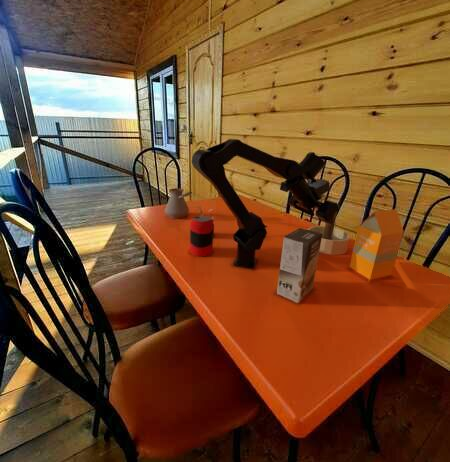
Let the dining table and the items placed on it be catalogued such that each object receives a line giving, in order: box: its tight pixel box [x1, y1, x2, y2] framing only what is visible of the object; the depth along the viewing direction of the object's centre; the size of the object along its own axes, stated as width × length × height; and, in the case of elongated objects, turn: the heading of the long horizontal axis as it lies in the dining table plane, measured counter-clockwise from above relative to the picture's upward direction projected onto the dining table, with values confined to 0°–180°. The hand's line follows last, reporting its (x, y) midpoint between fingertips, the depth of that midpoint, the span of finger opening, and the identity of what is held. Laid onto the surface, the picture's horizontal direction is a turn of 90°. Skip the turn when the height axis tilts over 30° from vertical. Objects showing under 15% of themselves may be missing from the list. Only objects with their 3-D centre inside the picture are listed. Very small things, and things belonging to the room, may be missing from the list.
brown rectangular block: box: [323, 211, 338, 240], centre depth 91 cm, size 5×5×16 cm
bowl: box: [307, 225, 351, 256], centre depth 92 cm, size 14×14×6 cm
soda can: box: [189, 215, 214, 257], centre depth 85 cm, size 8×8×12 cm
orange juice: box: [349, 208, 405, 283], centre depth 74 cm, size 8×9×20 cm
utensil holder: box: [197, 204, 215, 236], centre depth 99 cm, size 6×6×12 cm
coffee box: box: [276, 227, 322, 304], centre depth 64 cm, size 9×6×16 cm
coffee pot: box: [164, 187, 195, 219], centre depth 116 cm, size 21×12×15 cm, turn 34°
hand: (322, 219), depth 88 cm, fingers open, 9 cm apart
